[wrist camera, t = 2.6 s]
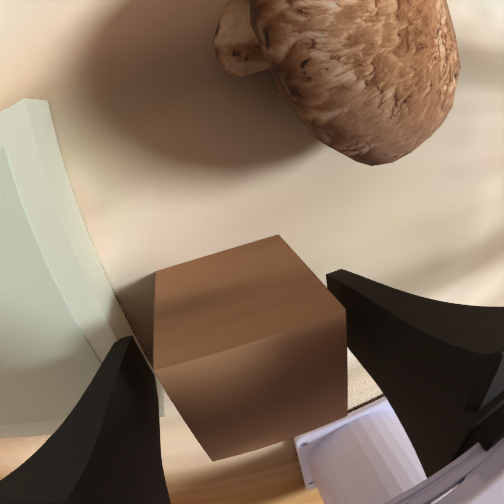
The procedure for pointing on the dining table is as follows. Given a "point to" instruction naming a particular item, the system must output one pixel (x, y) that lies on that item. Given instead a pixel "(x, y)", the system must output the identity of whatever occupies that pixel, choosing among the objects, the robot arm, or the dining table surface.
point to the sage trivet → (47, 282)
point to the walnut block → (250, 347)
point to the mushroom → (350, 67)
